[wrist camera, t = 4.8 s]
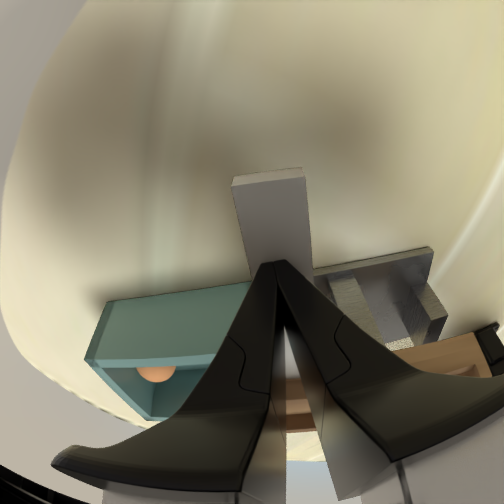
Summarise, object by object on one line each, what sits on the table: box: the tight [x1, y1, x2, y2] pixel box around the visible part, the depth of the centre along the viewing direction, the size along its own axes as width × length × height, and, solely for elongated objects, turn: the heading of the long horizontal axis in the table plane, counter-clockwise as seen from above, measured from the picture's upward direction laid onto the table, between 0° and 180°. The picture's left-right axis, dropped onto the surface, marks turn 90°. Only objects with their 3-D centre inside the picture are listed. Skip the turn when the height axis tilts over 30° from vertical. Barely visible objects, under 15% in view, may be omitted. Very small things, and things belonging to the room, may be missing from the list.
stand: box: [313, 247, 448, 347], centre depth 16 cm, size 9×11×7 cm
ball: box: [136, 366, 176, 382], centre depth 18 cm, size 3×3×3 cm
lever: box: [231, 167, 492, 433], centre depth 11 cm, size 16×14×3 cm
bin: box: [84, 281, 252, 421], centre depth 18 cm, size 9×11×5 cm
